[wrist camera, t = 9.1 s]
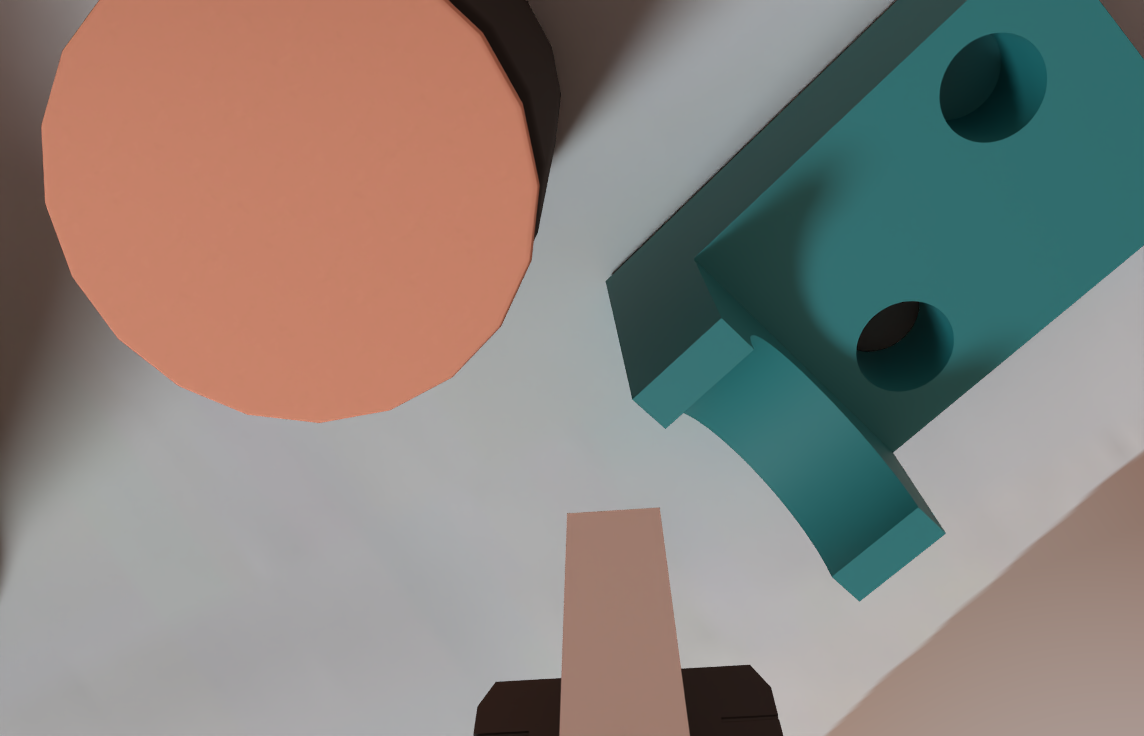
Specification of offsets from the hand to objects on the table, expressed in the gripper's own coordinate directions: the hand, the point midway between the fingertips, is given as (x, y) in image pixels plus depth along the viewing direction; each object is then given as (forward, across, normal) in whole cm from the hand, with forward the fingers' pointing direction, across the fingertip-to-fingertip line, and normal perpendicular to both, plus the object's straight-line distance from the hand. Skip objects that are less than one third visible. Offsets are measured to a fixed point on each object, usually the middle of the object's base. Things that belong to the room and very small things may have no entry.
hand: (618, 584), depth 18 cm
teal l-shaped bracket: (+26, +10, 0) cm, 28 cm away
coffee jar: (+26, -6, +5) cm, 27 cm away
